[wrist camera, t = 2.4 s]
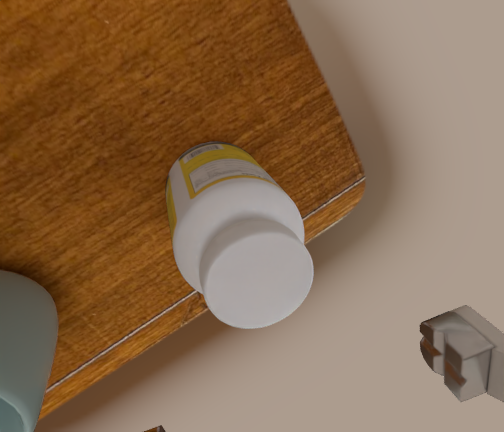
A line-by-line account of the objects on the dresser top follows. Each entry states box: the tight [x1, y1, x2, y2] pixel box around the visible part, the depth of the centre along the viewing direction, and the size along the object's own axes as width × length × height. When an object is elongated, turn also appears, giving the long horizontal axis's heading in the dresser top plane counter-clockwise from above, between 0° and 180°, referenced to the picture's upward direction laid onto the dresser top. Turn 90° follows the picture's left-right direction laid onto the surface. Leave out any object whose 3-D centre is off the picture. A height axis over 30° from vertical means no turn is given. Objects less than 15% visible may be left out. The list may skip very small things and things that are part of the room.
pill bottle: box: [165, 142, 314, 329], centre depth 20 cm, size 6×6×12 cm
